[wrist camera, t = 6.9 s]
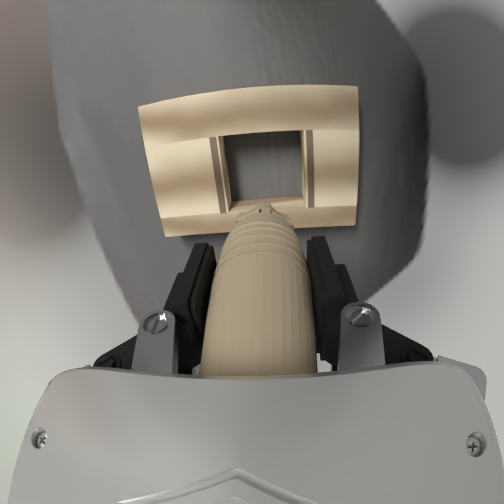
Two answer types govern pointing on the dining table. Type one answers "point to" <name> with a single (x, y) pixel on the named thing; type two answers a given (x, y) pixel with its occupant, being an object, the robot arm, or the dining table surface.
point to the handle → (260, 301)
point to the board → (252, 121)
